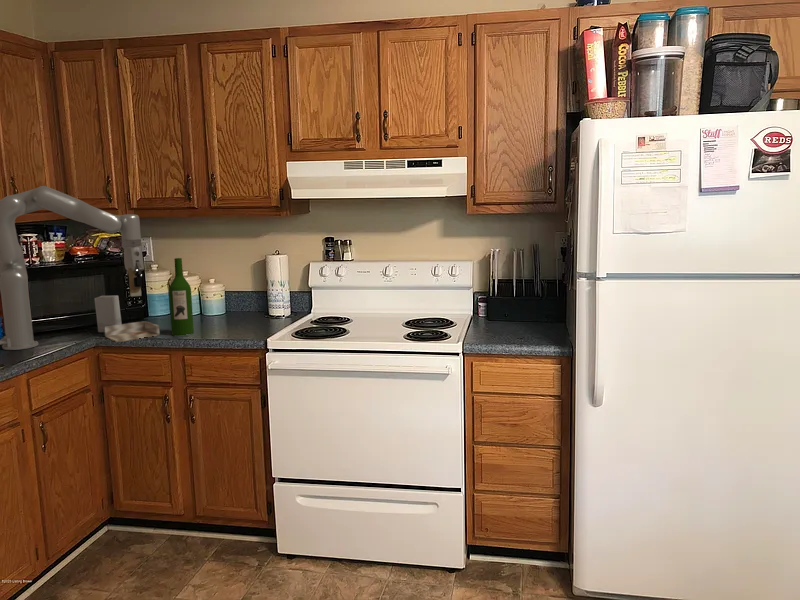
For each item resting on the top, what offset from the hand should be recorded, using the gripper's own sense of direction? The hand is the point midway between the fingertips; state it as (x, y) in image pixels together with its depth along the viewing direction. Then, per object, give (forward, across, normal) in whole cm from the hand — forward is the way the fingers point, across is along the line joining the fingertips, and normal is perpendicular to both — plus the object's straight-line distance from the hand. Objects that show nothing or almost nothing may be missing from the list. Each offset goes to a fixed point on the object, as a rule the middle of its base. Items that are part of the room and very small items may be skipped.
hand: (135, 285), depth 289 cm
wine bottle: (+22, -12, -15) cm, 29 cm away
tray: (+21, -2, +3) cm, 22 cm away
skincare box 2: (+4, 0, 0) cm, 4 cm away
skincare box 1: (+22, +18, +6) cm, 28 cm away
